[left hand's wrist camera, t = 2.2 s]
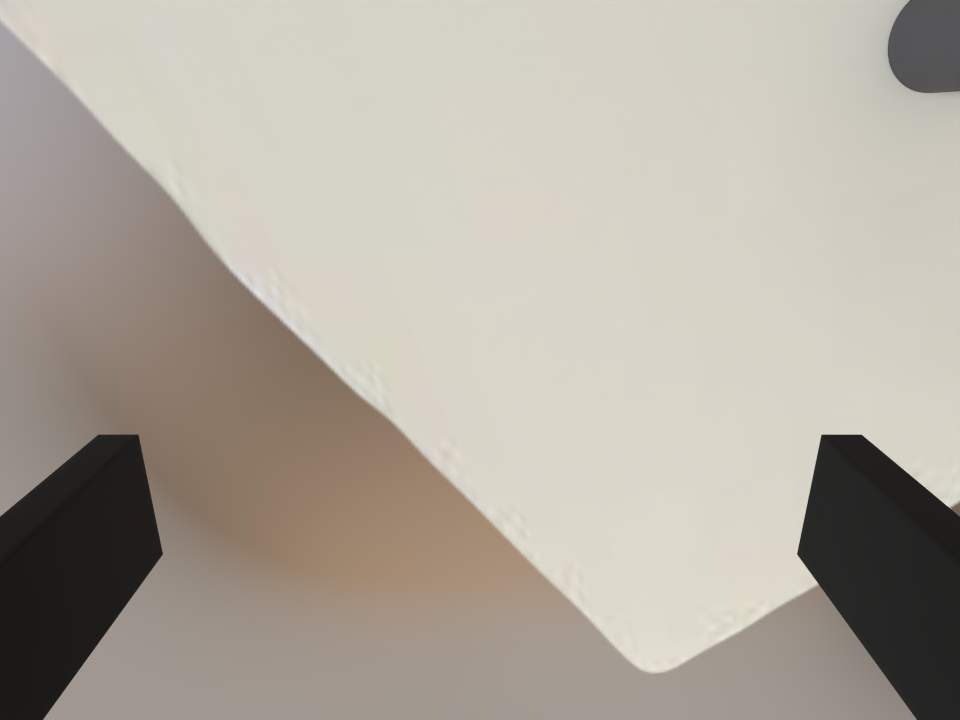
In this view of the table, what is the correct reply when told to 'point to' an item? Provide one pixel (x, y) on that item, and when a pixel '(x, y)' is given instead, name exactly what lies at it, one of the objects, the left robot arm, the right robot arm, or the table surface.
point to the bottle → (927, 46)
